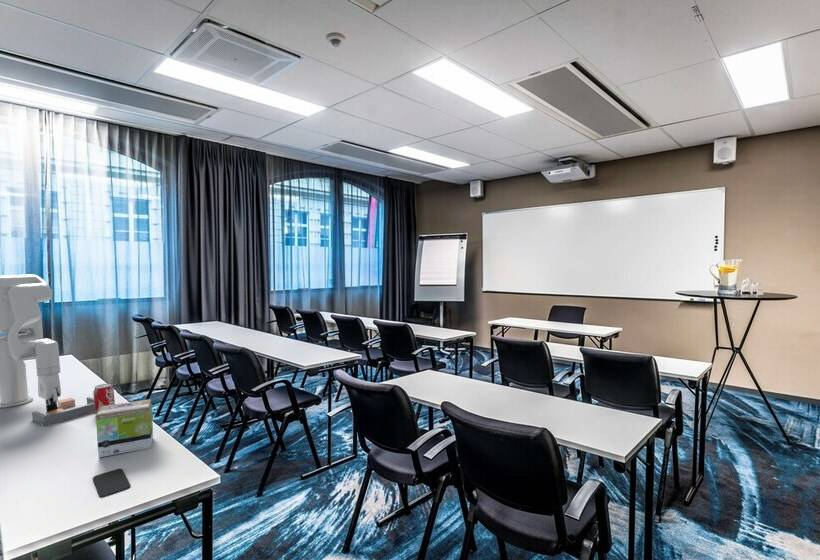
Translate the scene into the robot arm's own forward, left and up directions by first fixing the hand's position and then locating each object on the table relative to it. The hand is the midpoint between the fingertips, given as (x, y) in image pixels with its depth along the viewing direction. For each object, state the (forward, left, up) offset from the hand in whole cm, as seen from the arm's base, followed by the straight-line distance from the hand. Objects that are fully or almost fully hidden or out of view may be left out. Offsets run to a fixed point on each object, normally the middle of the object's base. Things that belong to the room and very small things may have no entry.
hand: (52, 413), depth 179 cm
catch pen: (+5, +4, -1) cm, 6 cm away
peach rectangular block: (-9, +8, -1) cm, 12 cm away
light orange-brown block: (+4, 0, -1) cm, 5 cm away
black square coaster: (+84, -14, -2) cm, 86 cm away
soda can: (+18, +12, -1) cm, 22 cm away
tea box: (+63, 0, -1) cm, 63 cm away
